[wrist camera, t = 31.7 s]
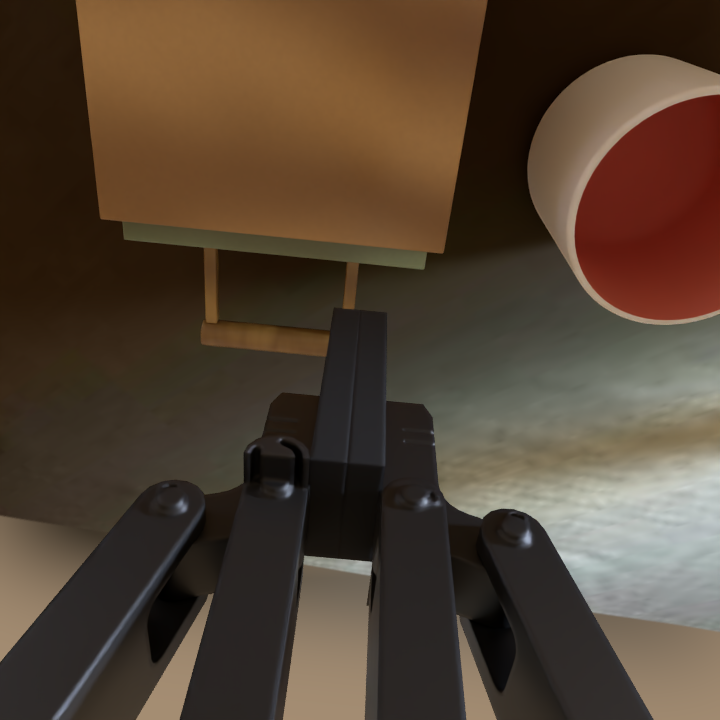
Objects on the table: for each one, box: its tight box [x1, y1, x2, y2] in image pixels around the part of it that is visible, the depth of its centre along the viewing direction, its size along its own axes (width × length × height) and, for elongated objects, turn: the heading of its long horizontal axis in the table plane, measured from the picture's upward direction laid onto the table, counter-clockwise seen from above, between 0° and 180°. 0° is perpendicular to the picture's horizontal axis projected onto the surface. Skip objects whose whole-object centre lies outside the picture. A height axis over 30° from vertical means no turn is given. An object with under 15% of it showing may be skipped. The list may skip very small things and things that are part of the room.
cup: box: [527, 55, 720, 325], centre depth 31 cm, size 10×10×10 cm
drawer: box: [122, 221, 427, 357], centre depth 30 cm, size 25×13×8 cm, turn 174°
